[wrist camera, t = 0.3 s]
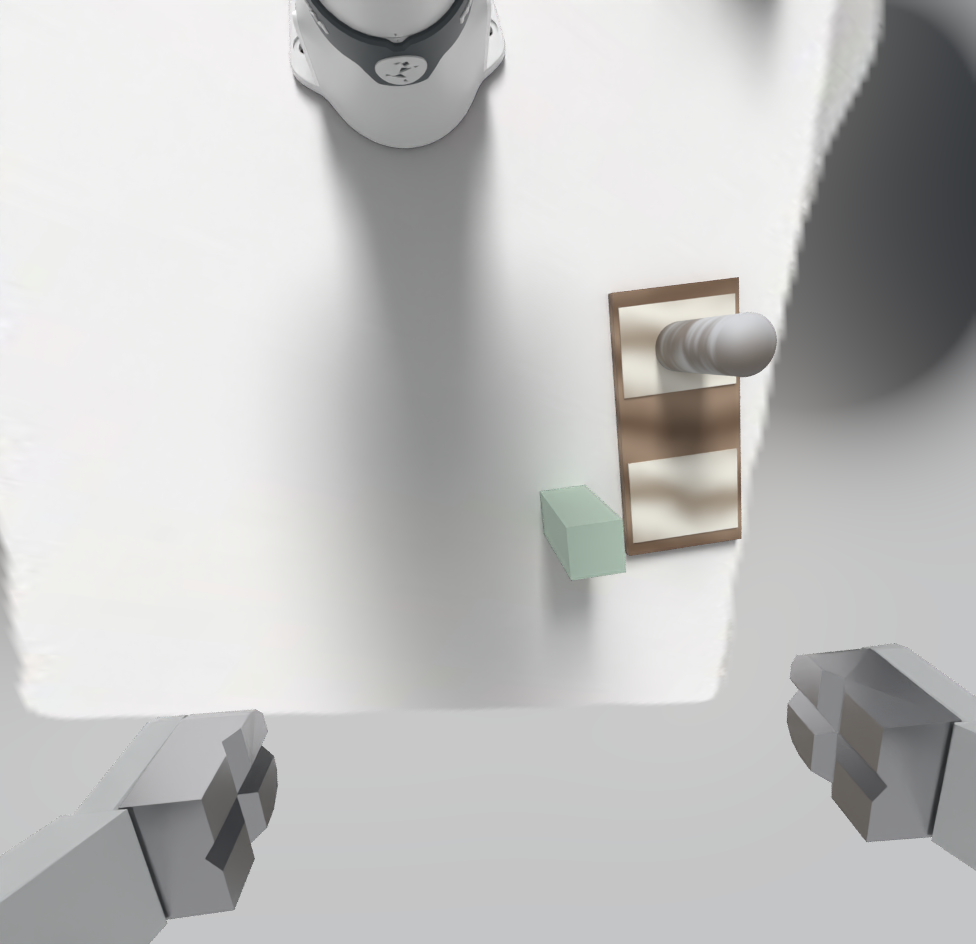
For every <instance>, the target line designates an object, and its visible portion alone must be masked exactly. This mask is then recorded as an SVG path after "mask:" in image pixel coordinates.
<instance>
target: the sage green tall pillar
mask: <svg viewBox="0 0 976 944" xmlns="http://www.w3.org/2000/svg"><path fill="white" fill-rule="evenodd" d="M540 496H541V505H542V515H543V524H544V534H545V536H546V538H547V540H548V541H549V543H550V545H551V547H552V548H553V550H554V552H555V554H556V555H557V557H558V559H559V561H560V562H561V564H562V566H563V567H564V569H565V571H566V573H567V574H568V576H569V578H570V580H571V581H573V580H579V579H585V578H592V577H598V576H605V575H611V574H617V573H624V572H626V564H625V549H624V534H623V519H622V518H621V517H619V516H618V515H617V514H616V513H615V512H614V511H613V510H612V509H611V508H610V507H609V506H607V505H606V504H605V503H604V502H603V501H602V500H601V499H600V498H599V497H598V496H596V495H595V494H594V493H593V492H592V491H591V490H590V489H589V488H588V487H587V486H586V485H582V486H575V487H568V488H561V489H554V490H547V491H540Z"/></svg>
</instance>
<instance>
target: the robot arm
mask: <svg viewBox="0 0 976 944" xmlns="http://www.w3.org/2000/svg"><path fill="white" fill-rule="evenodd" d="M490 32H491V33H492V35H491V36H490ZM289 33H290V65H291V68H292V71H293V74H294V76H295V77H296V79H297V80H298V81H299V82H301V83H302V84H303V85H305V86H306V87H308V88H309V89H311V90H313V91H315V92H316V93H318V94H320V95H322V96H324V97H325V98H326V99H327V100H328V101H329V102H330V104H331V105H332V106H333V107H334V108H335V110H336V111H337V112H338V113H339V115H340V116H341V117H342V118H343V119H344V120H345V121H346V122H347V123H348V124H349V125H350V126H351V127H352V128H353V129H354V130H356V131H357V132H358V133H360V134H361V135H363V136H364V137H366V138H368V139H370V140H372V141H374V142H376V143H379V144H382V145H385V146H389V147H395V148H414V147H420V146H424V145H427V144H430V143H432V142H435V141H437V140H439V139H440V138H442V137H444V136H445V135H446V134H448V133H449V132H450V131H452V130H453V129H454V128H455V127H456V126H457V125H458V124H459V122H460V121H461V120H462V119H463V117H464V116H465V115H466V113H467V111H468V110H469V108H470V106H471V104H472V102H473V100H474V97H475V95H476V93H477V90H478V88H479V86H480V85H481V83H482V81H483V80H484V79H485V78H486V77H488V76H489V75H490V74H491V73H492V72H493V71H494V70H495V69H496V68H497V67H498V66H499V65H500V63H501V62H502V60H503V58H504V55H505V41H504V37H503V33H502V29H501V26H500V22H499V18H498V15H497V11H496V7H495V4H494V0H289ZM489 36H490V37H489ZM301 49H303V52H304V54H303V53H301ZM790 679H791V681H792V682H793V683H794V684H795V686H796V687H797V688H798V691H797V692H796V694H795V695H794V696H793V698H792V699H791V700H790V701H789V702H788V709H787V724H788V728H789V732H790V736H791V739H792V742H793V744H794V746H795V748H796V750H797V752H798V754H799V756H800V757H801V758H802V760H803V761H804V763H805V764H806V765H807V767H808V768H809V769H810V770H811V771H812V772H814V773H815V774H817V775H819V776H821V777H822V778H824V779H826V780H828V781H829V782H831V783H832V799H833V800H834V801H835V803H836V804H837V805H838V806H839V808H840V809H841V810H842V811H843V813H844V814H845V815H846V816H847V818H848V819H849V820H850V822H851V823H852V824H853V826H854V827H855V828H856V829H857V830H858V832H859V833H860V834H861V836H862V837H863V838H864V839H865V840H866V842H872V841H885V840H898V839H912V838H925V837H932V841H933V842H934V843H936V844H937V845H939V846H940V847H942V848H943V849H944V850H946V851H947V852H949V853H950V854H952V855H953V856H955V857H956V858H958V859H959V860H961V861H962V862H964V863H965V864H967V865H968V866H970V867H971V868H973V869H974V870H976V696H974V695H973V694H971V693H970V692H969V691H967V690H966V689H965V688H963V687H962V686H960V685H959V684H958V683H956V682H955V681H953V680H952V679H951V678H949V677H948V676H947V675H945V674H944V673H942V672H941V671H940V670H938V669H937V668H935V667H934V666H933V665H931V664H930V663H929V662H927V661H926V660H924V659H923V658H921V657H920V656H919V655H917V654H916V653H914V652H913V651H912V650H910V649H909V648H908V647H905V646H902V645H898V644H895V643H894V644H887V645H878V646H871V647H863V648H861V649H854V650H845V651H835V652H825V653H816V654H807V655H797V656H796V657H795V659H794V661H793V662H792V664H791V673H790ZM267 732H268V730H267V727H266V723H265V720H264V716H263V713H261V712H259V711H258V710H256V709H255V710H242V711H229V712H216V713H203V714H191V715H182V716H171V717H159V718H156V719H154V720H152V721H150V722H148V723H146V725H145V726H144V727H143V728H142V730H141V731H140V732H139V733H138V735H137V736H136V737H135V738H134V740H133V741H132V742H131V743H130V744H129V746H128V747H127V748H126V749H125V751H124V752H123V753H122V754H121V756H120V757H119V758H118V759H117V761H116V762H115V763H114V765H112V767H111V768H110V769H109V770H108V772H107V773H106V774H105V775H104V777H103V778H102V779H101V781H100V782H99V783H98V784H97V786H96V787H95V788H94V789H93V791H92V792H91V793H90V794H89V795H88V797H87V798H86V799H85V800H84V802H83V803H82V804H81V805H80V806H79V808H78V809H77V810H76V812H75V813H74V814H73V815H64V816H60V817H58V818H57V819H55V820H54V821H52V822H51V823H50V824H48V825H46V826H45V827H43V828H42V829H40V830H39V831H37V832H36V833H34V834H33V835H31V836H30V837H28V838H27V839H25V840H24V841H22V842H21V843H19V844H18V845H16V846H14V847H13V848H11V849H10V850H8V851H7V852H5V853H4V854H2V855H1V856H0V944H149V943H150V942H151V941H152V940H153V939H154V938H155V937H156V936H157V934H158V933H159V932H160V931H161V930H162V929H163V928H164V927H165V926H166V924H167V921H166V920H168V919H175V918H182V917H189V916H195V915H203V914H210V913H217V912H224V911H231V910H234V909H235V907H236V904H237V902H238V899H239V897H240V894H241V892H242V889H243V887H244V884H245V882H246V879H247V877H248V874H249V872H250V869H251V867H252V864H253V862H254V859H255V858H254V854H253V850H252V847H251V842H253V841H254V840H255V839H256V838H257V837H258V836H259V835H260V834H261V833H262V832H263V831H264V830H265V829H266V828H267V826H268V823H269V821H270V818H271V815H272V812H273V810H274V805H275V799H276V792H277V787H278V783H277V768H276V763H275V759H274V756H273V755H272V754H271V753H270V752H269V751H267V750H266V749H265V748H264V747H263V746H262V743H263V741H264V739H265V737H266V735H267Z"/></svg>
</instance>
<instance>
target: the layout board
mask: <svg viewBox="0 0 976 944" xmlns="http://www.w3.org/2000/svg"><path fill="white" fill-rule="evenodd" d="M608 295H609V310H610V326H611V341H612V356H613V371H614V386H615V401H616V416H617V431H618V446H619V461H620V476H621V491H622V506H623V521H624V536H625V551H626V553H627V554H628V555H629V556H632V555H638V554H645V553H651V552H658V551H664V550H671V549H677V548H684V547H690V546H697V545H703V544H710V543H716V542H722V541H729V540H735V539H741V452H740V377H748V376H752V375H755V374H757V373H759V372H760V371H762V370H763V369H764V368H765V367H766V366H767V365H768V364H769V363H770V361H771V359H772V358H773V356H774V353H775V350H776V344H777V338H776V332H775V329H774V327H773V325H772V324H771V322H770V321H769V320H768V319H767V318H766V317H764V316H763V315H761V314H758V313H754V312H746V313H739V277H737V278H729V279H721V280H713V281H705V282H697V283H688V284H680V285H672V286H664V287H656V288H648V289H640V290H632V291H624V292H616V293H611V294H608Z"/></svg>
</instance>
